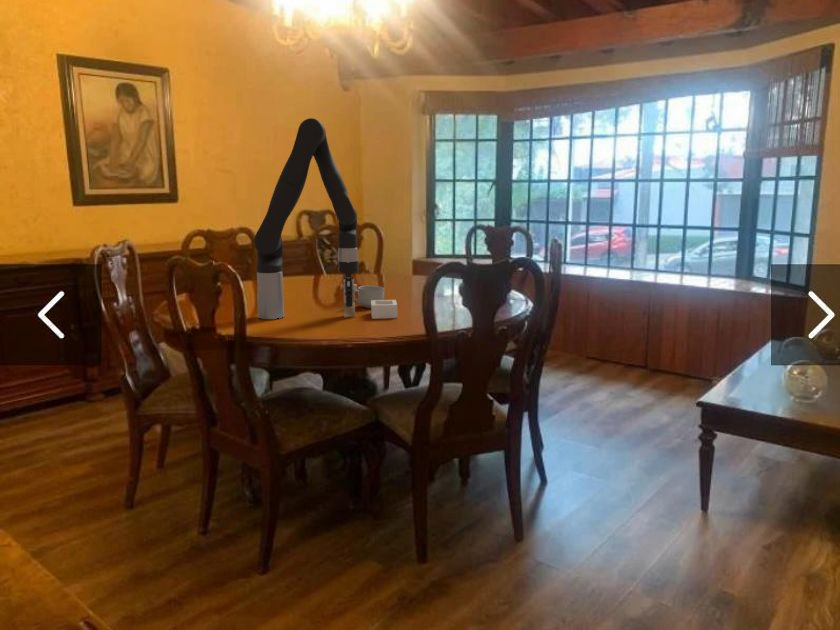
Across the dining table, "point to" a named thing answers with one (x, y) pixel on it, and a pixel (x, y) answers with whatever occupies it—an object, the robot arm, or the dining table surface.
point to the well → (383, 309)
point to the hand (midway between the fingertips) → (349, 305)
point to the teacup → (369, 295)
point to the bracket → (351, 310)
